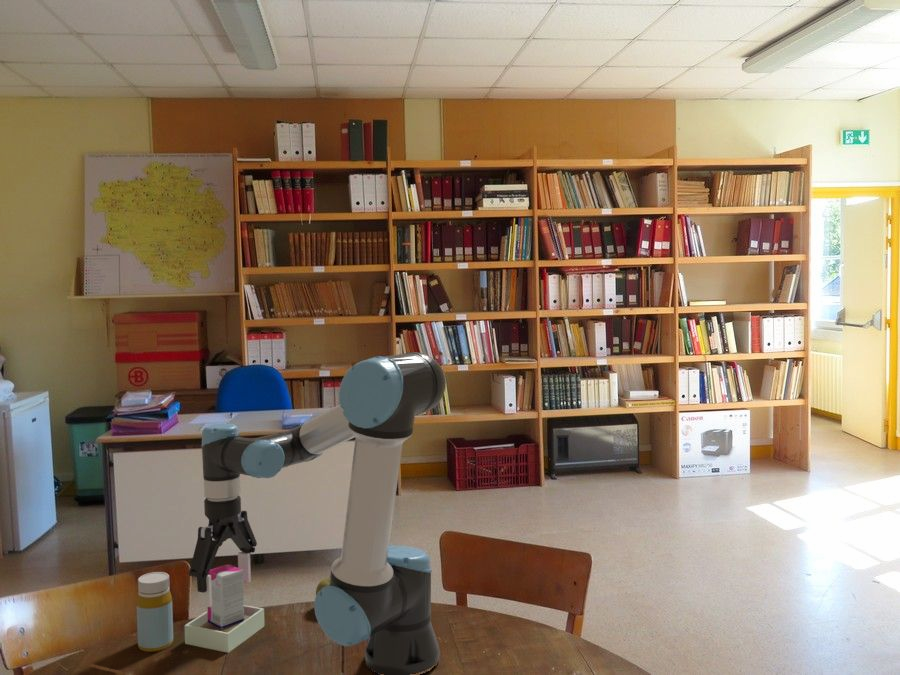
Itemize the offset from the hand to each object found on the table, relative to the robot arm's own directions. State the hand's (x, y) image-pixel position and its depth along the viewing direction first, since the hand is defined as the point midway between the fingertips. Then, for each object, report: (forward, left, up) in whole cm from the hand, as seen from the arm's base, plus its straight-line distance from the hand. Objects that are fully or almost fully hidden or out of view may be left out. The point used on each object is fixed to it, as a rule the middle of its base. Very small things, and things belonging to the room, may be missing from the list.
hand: (226, 593), depth 170 cm
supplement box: (0, 0, -7) cm, 7 cm away
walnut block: (0, 0, -9) cm, 9 cm away
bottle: (+12, +9, -10) cm, 18 cm away
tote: (0, 0, -10) cm, 10 cm away
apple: (-15, -21, -10) cm, 27 cm away
